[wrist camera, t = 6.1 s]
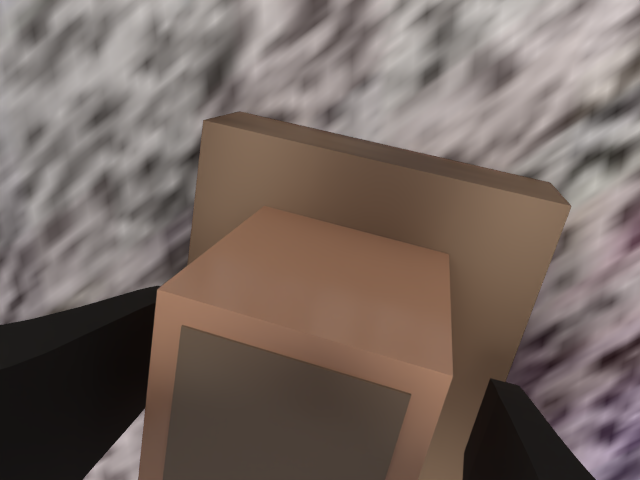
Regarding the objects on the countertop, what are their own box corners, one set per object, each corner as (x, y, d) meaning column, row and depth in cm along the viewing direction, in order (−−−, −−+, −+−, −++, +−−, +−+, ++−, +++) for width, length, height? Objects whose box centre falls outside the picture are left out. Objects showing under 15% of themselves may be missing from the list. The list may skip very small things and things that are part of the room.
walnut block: (210, 359, 19) (171, 409, 16) (244, 110, 16) (203, 120, 13) (457, 433, 18) (460, 501, 15) (547, 179, 15) (571, 206, 12)
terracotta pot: (237, 361, 15) (133, 512, 10) (264, 205, 14) (155, 290, 8) (400, 412, 15) (377, 600, 9) (449, 253, 13) (452, 377, 8)
